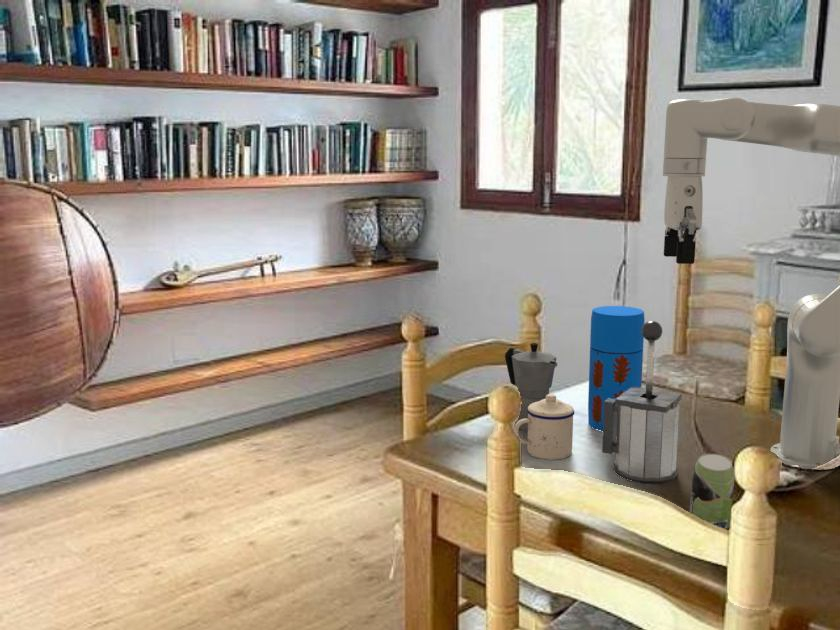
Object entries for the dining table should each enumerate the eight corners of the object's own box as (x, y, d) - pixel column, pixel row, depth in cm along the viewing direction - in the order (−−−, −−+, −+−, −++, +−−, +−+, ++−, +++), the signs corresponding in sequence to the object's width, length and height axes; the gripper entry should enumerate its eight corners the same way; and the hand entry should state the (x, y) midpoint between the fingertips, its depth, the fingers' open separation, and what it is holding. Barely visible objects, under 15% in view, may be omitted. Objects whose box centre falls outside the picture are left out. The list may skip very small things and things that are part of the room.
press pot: (684, 467, 157) (688, 393, 154) (666, 488, 148) (670, 409, 145) (614, 454, 164) (617, 382, 161) (593, 473, 155) (595, 397, 152)
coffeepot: (570, 427, 179) (572, 345, 176) (538, 437, 174) (539, 352, 170) (520, 410, 191) (522, 332, 188) (489, 418, 186) (489, 338, 182)
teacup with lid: (561, 442, 171) (562, 386, 168) (581, 458, 162) (583, 399, 160) (505, 448, 168) (506, 391, 165) (522, 464, 159) (523, 405, 157)
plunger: (673, 413, 154) (678, 319, 150) (661, 424, 148) (666, 327, 145) (634, 407, 158) (639, 315, 154) (621, 418, 152) (625, 322, 148)
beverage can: (720, 519, 135) (725, 448, 133) (738, 540, 128) (744, 465, 126) (681, 519, 135) (685, 449, 133) (697, 541, 128) (702, 466, 126)
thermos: (644, 433, 175) (650, 315, 170) (592, 433, 175) (596, 316, 170) (632, 417, 186) (637, 305, 181) (583, 417, 186) (587, 305, 181)
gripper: (718, 169, 148) (711, 266, 151) (692, 166, 165) (686, 254, 168) (675, 169, 148) (669, 266, 152) (653, 166, 165) (648, 253, 169)
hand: (678, 259), depth 160 cm, fingers open, 9 cm apart
